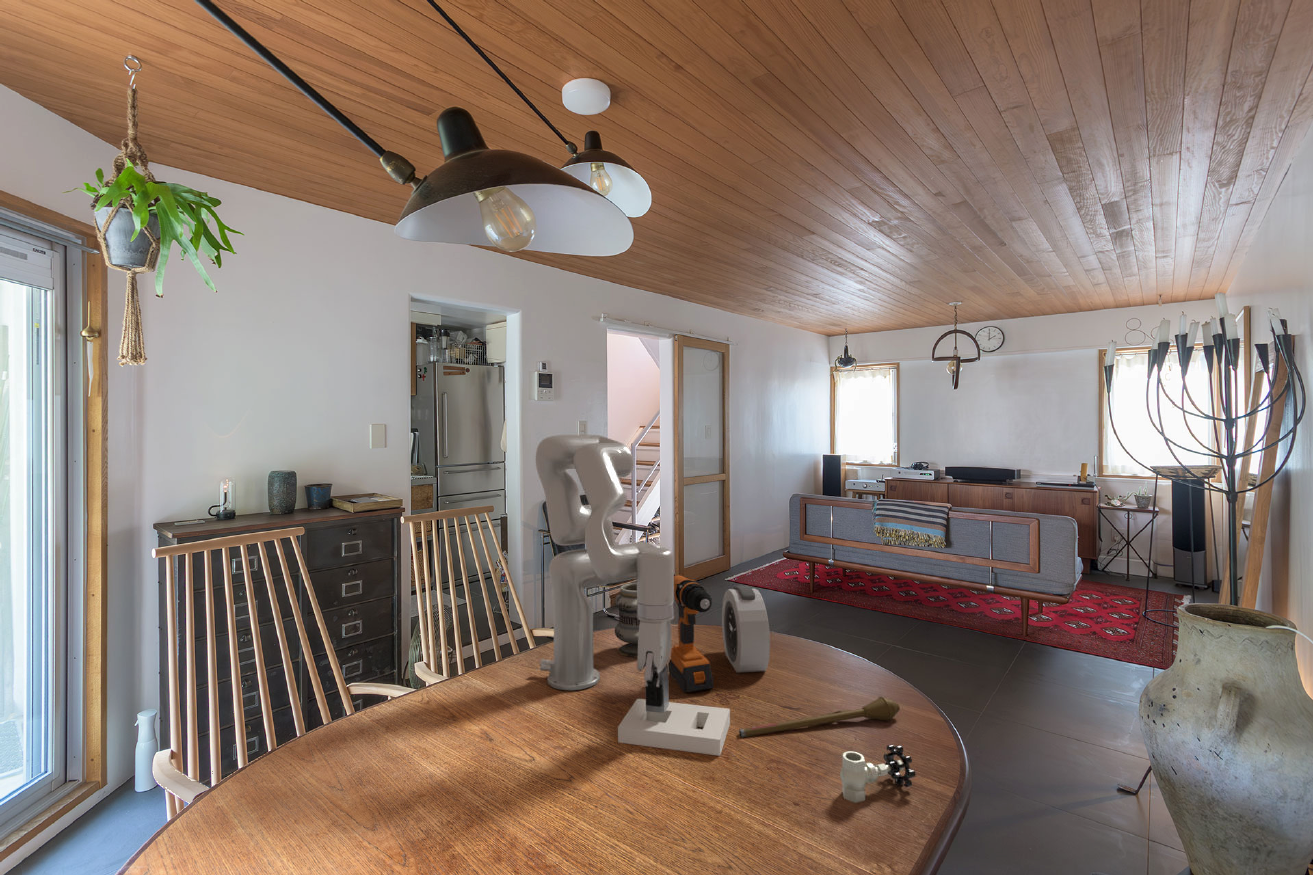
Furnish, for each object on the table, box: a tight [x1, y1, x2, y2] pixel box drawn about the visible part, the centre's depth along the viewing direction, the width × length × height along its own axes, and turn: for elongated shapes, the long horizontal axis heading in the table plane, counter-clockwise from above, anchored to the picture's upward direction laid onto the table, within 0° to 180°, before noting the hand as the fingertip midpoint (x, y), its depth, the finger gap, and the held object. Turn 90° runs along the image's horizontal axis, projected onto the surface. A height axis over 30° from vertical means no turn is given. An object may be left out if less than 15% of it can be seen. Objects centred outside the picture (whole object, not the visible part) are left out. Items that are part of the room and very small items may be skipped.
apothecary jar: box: [614, 582, 640, 658], centre depth 167 cm, size 12×12×18 cm
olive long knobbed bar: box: [738, 696, 901, 738], centre depth 123 cm, size 5×35×5 cm
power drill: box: [667, 574, 714, 693], centre depth 143 cm, size 22×7×25 cm, turn 16°
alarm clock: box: [721, 584, 771, 674], centre depth 158 cm, size 21×8×20 cm, turn 6°
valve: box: [839, 744, 917, 804], centre depth 101 cm, size 7×7×12 cm
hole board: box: [617, 698, 731, 757], centre depth 121 cm, size 20×13×3 cm, turn 75°
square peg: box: [644, 665, 670, 713], centre depth 122 cm, size 4×4×8 cm
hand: (657, 699), depth 122 cm, fingers closed on square peg, 3 cm apart
